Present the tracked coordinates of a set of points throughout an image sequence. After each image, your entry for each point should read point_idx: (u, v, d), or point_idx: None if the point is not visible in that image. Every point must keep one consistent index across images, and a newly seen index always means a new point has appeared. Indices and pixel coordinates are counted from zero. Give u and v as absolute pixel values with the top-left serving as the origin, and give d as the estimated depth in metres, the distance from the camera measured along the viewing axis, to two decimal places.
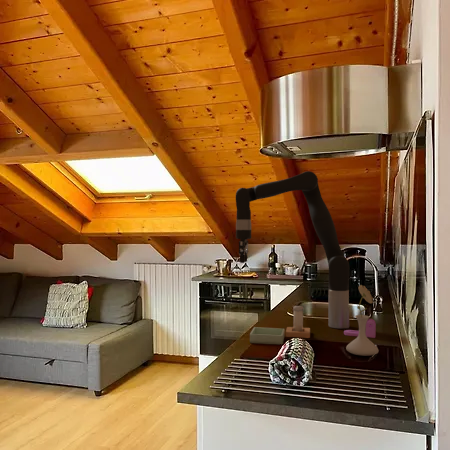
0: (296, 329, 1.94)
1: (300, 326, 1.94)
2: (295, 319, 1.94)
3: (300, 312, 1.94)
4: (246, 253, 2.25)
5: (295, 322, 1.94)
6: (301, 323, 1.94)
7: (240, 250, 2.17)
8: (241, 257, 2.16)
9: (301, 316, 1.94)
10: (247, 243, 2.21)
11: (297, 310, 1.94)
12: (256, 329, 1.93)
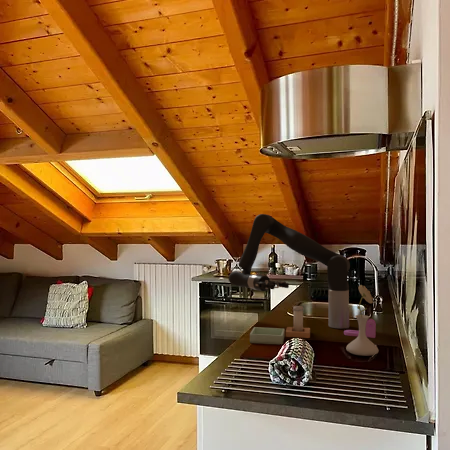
0: (296, 329, 1.94)
1: (300, 326, 1.94)
2: (295, 319, 1.94)
3: (300, 312, 1.94)
4: (282, 283, 2.11)
5: (295, 322, 1.94)
6: (301, 323, 1.94)
7: None
8: (268, 286, 2.04)
9: (301, 316, 1.94)
10: (269, 280, 2.13)
11: (297, 310, 1.94)
12: (256, 329, 1.93)
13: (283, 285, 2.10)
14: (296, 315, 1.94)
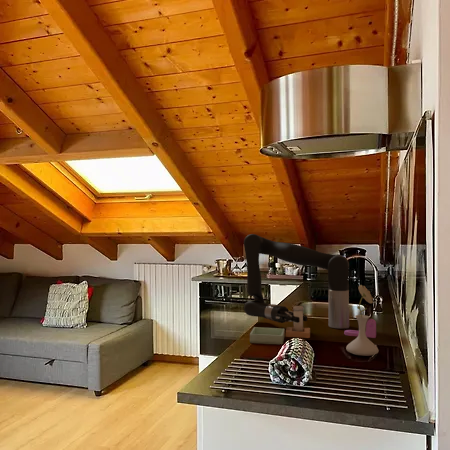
0: (296, 329, 1.94)
1: (300, 326, 1.94)
2: None
3: (300, 312, 1.94)
4: None
5: (295, 322, 1.94)
6: (301, 323, 1.94)
7: None
8: (292, 319, 1.94)
9: (301, 316, 1.94)
10: (288, 311, 2.03)
11: (297, 310, 1.94)
12: (256, 329, 1.93)
13: None
14: (296, 315, 1.94)
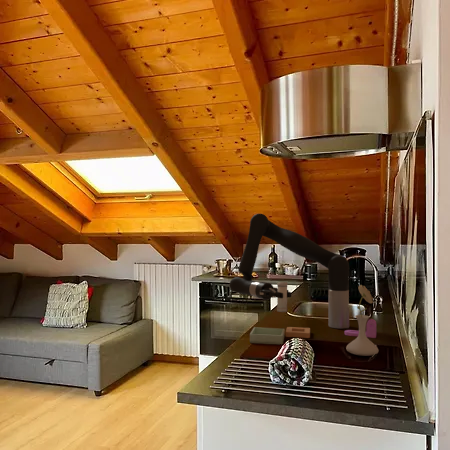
0: (280, 305, 1.90)
1: (284, 302, 1.90)
2: None
3: (284, 288, 1.90)
4: None
5: (279, 298, 1.90)
6: (285, 299, 1.90)
7: None
8: (276, 295, 1.90)
9: (285, 292, 1.90)
10: (272, 287, 1.98)
11: (281, 286, 1.90)
12: (256, 329, 1.93)
13: None
14: (280, 291, 1.90)
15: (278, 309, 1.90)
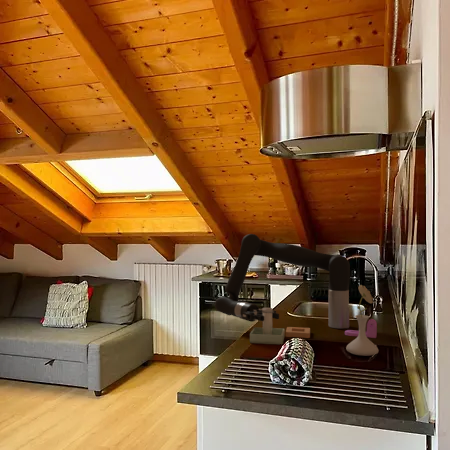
0: (265, 332, 1.85)
1: (269, 329, 1.85)
2: (264, 321, 1.85)
3: (269, 314, 1.85)
4: None
5: (264, 324, 1.85)
6: (270, 326, 1.85)
7: None
8: (257, 318, 1.84)
9: (270, 318, 1.85)
10: (258, 309, 1.93)
11: (266, 312, 1.85)
12: (256, 329, 1.93)
13: (273, 315, 1.89)
14: (265, 317, 1.85)
15: None
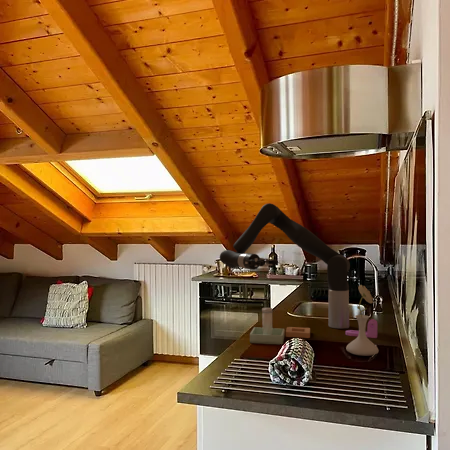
0: (265, 332, 1.85)
1: (269, 329, 1.85)
2: (264, 321, 1.85)
3: (269, 314, 1.85)
4: (271, 260, 2.11)
5: (264, 325, 1.85)
6: (270, 326, 1.85)
7: None
8: (257, 263, 2.04)
9: (270, 318, 1.85)
10: (259, 258, 2.13)
11: (265, 312, 1.85)
12: (256, 329, 1.93)
13: (273, 263, 2.10)
14: (265, 317, 1.85)
15: None
